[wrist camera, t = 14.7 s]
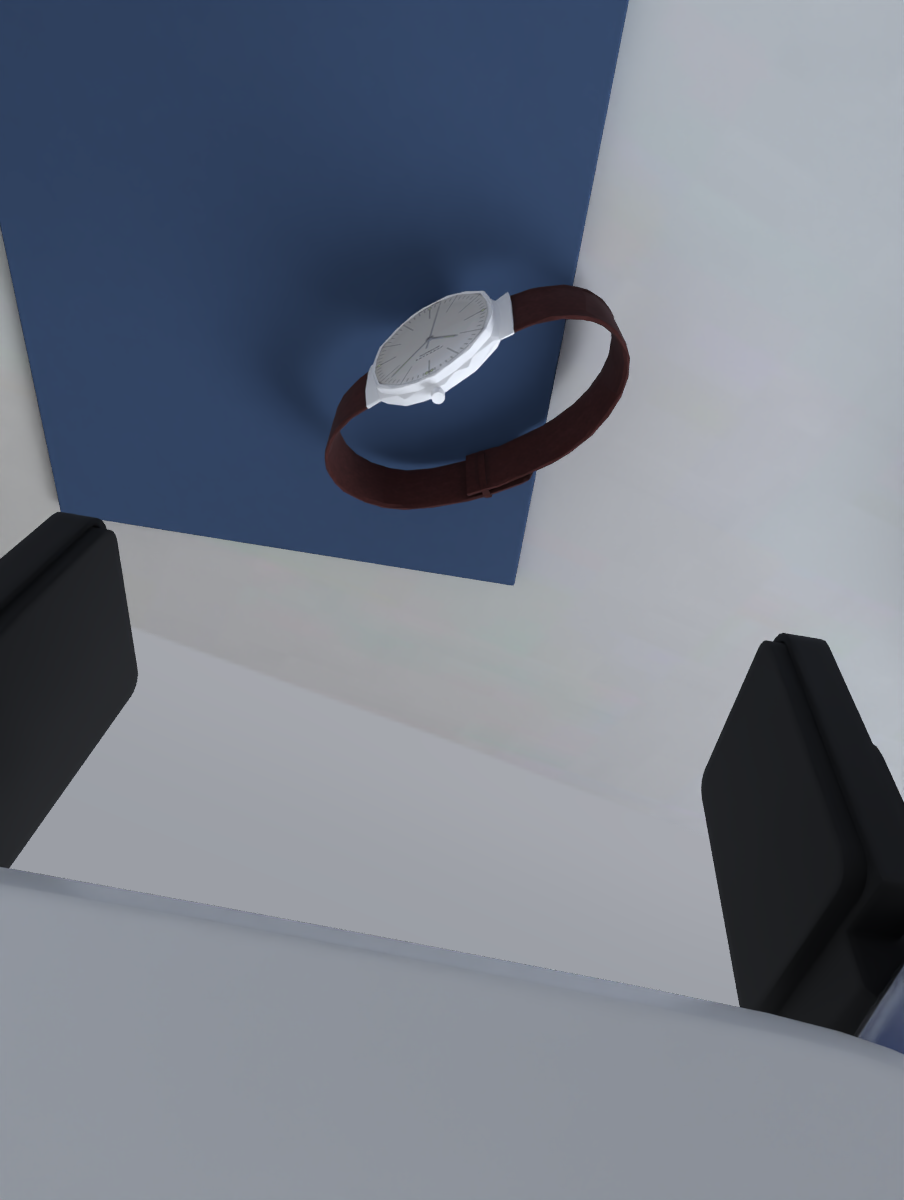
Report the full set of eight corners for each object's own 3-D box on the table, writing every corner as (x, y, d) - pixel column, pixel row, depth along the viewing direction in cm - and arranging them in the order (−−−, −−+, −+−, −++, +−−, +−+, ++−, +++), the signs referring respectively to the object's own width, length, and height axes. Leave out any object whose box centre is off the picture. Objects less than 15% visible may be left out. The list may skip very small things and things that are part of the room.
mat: (514, 578, 23) (513, 586, 23) (67, 507, 24) (60, 513, 23) (686, -301, 13) (689, -310, 13) (-119, -402, 13) (-137, -414, 13)
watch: (578, 218, 17) (583, 251, 14) (655, 400, 19) (671, 461, 16) (303, 372, 20) (259, 426, 17) (397, 515, 22) (371, 586, 19)
